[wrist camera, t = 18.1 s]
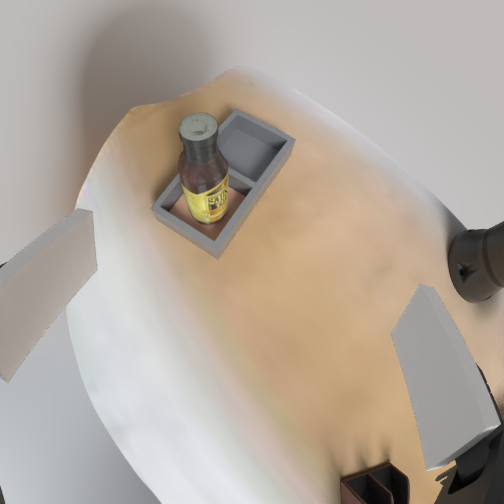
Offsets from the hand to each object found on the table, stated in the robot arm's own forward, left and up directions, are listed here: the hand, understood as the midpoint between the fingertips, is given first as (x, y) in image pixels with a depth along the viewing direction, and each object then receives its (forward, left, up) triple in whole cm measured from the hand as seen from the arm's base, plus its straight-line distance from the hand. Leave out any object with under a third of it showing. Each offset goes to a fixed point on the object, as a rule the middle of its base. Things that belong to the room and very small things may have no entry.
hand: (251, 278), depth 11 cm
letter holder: (-40, +21, -34) cm, 57 cm away
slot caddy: (+13, -17, -34) cm, 40 cm away
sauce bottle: (+13, -12, -33) cm, 37 cm away
